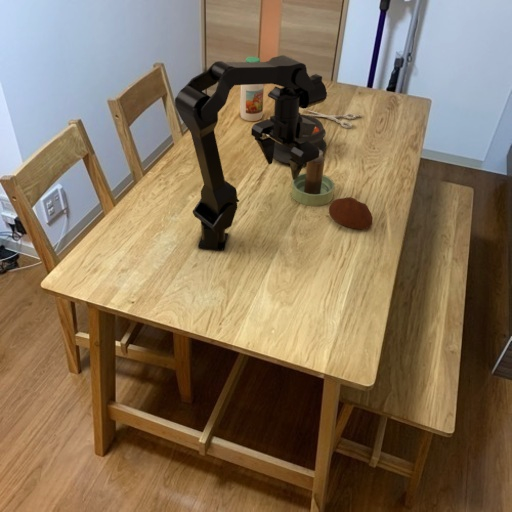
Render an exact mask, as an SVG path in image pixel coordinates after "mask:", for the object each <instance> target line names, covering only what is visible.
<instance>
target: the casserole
mask: <svg viewBox="0 0 512 512" xmlns="http://www.w3.org/2000/svg"><path fill="white" fill-rule="evenodd" d="M301 117H303V118H306V119H308V120H310V121H312V122H314V123H315V124H316V126H315V128H314V131H313V134H312V136H309V135H303V138H301V139H296V141H297V142H299V143H300V144H301V143H304V142H306V141H308V142H310V143H312V144H314V145H315V146H317V147H318V148H319V149H320V150H321V151H322V152H323V153H324V152H325V151H326V150H327V142H326V140H325V137H326V134H327V133H326V129H325V127H324V124H323V123H322V122H321V121H320V120H319V119H318V118H316V117H314V116H312V115H305V114H301ZM291 150H292V149H291V148H289V147H287V146H286V145H284V144H280V143H278V142H277V141H276V142H275V146H274V156H273V160H276V161H277V162H281V163H284V164H290V160H289V159H291V158H292V157H291V155H290V154H291Z"/></svg>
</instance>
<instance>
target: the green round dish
mask: <svg viewBox="0 0 512 512" xmlns="http://www.w3.org/2000/svg"><path fill="white" fill-rule="evenodd" d="M305 176H306V172H303V173H299V175H298V177H297V179H295V180H293V179H292V180H291V186H290V195H291V197H292V199H293V200H294V201H296V202H297V203H300V204H301V205H304V206H309V207H319V206H320V207H321V206H325V205H328V204H329V203H331V201H332V200H333V198H334V193H335V182H334V181H333V179H332V178H330V177H329V176H327V175H326V174H323V178H322V185H321V193H320V194H308V193H304V185H305Z"/></svg>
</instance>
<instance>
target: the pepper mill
mask: <svg viewBox="0 0 512 512" xmlns="http://www.w3.org/2000/svg"><path fill="white" fill-rule="evenodd" d="M323 155H324V152H322V151H321V150H320V152H319V158H316V159H314V160H312V161H309V162H307V163H306V168H305V173H306V176H305V185H304V193H308V194H320V193H321V185H322V178H323V175H324V168H325V161H326V159H325V157H324V156H323Z"/></svg>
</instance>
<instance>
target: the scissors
mask: <svg viewBox="0 0 512 512" xmlns="http://www.w3.org/2000/svg"><path fill="white" fill-rule="evenodd" d="M306 111H307V112H311V114H308V113H307V114H306V113H304V115H307V116H311V117H320V118H326V119H328V120H332V121H334V122H336V123H337V124H340V125H341V127H343V128H345V129H351V128H352V127H353V124H352V123H351V122H348V121H342V120H339V118H344V119H348V120H355V119H356V118H361V117H362V114H354V113H345V114H339V115H335V114H324V113H321V112H317V111H314V110H309V109H306Z"/></svg>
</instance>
